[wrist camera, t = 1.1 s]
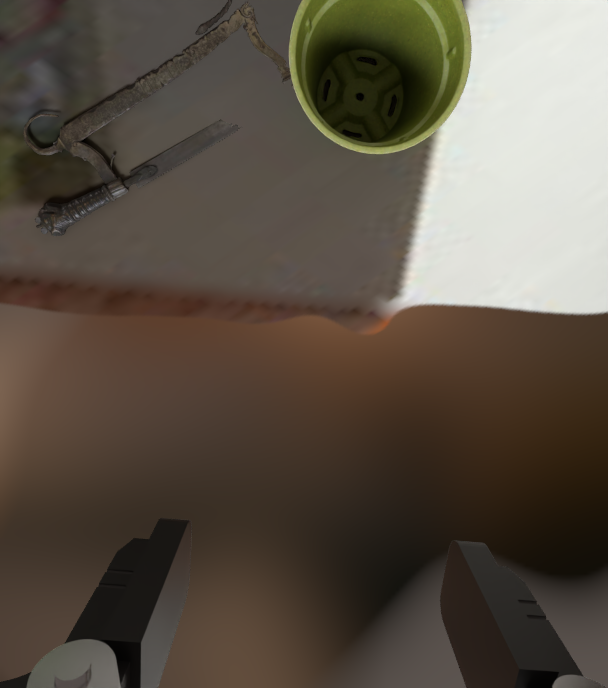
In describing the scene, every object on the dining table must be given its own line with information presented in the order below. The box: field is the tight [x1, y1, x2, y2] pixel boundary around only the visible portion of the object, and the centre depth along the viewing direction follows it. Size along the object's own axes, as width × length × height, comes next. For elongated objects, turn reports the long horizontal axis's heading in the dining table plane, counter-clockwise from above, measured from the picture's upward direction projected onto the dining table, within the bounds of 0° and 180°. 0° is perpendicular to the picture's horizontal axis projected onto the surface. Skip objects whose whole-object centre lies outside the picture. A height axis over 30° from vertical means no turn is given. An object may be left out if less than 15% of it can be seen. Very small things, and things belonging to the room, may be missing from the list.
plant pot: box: [289, 0, 471, 154], centre depth 28 cm, size 9×9×9 cm
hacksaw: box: [23, 0, 294, 236], centre depth 32 cm, size 24×10×2 cm, turn 118°
